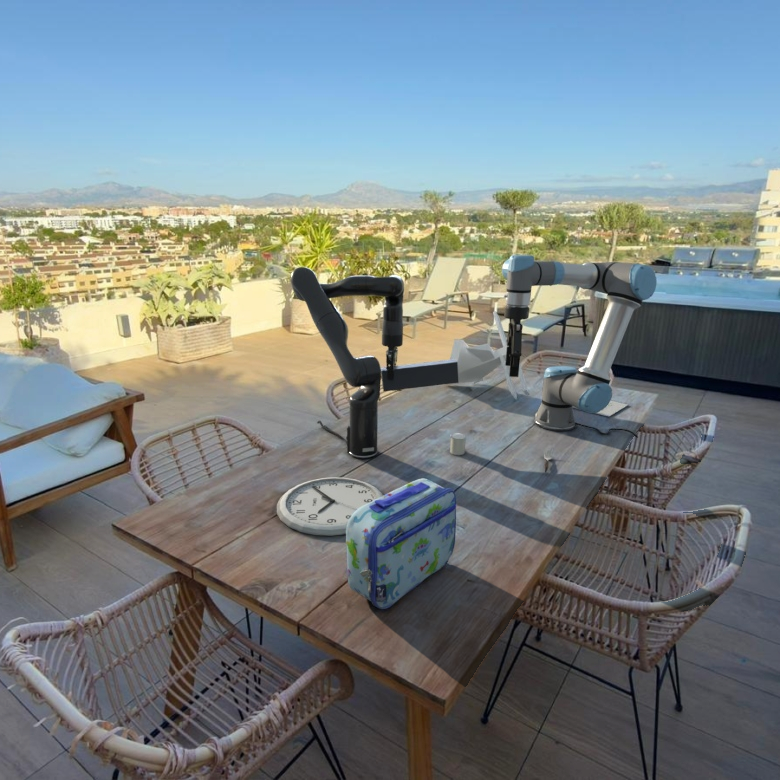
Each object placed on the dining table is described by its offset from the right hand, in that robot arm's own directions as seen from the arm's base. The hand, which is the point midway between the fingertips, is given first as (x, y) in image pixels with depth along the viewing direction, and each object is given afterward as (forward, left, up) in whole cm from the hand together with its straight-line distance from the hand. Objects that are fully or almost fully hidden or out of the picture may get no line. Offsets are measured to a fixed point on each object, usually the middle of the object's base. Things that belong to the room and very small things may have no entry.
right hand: (511, 370), depth 171 cm
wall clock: (+50, +44, -29) cm, 73 cm away
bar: (+31, -18, -12) cm, 38 cm away
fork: (-13, +8, -29) cm, 33 cm away
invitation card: (-46, -55, -29) cm, 77 cm away
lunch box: (+28, +73, -29) cm, 83 cm away
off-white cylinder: (+16, +3, -29) cm, 33 cm away
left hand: (+41, -16, -9) cm, 45 cm away
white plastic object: (+6, -67, -29) cm, 73 cm away
